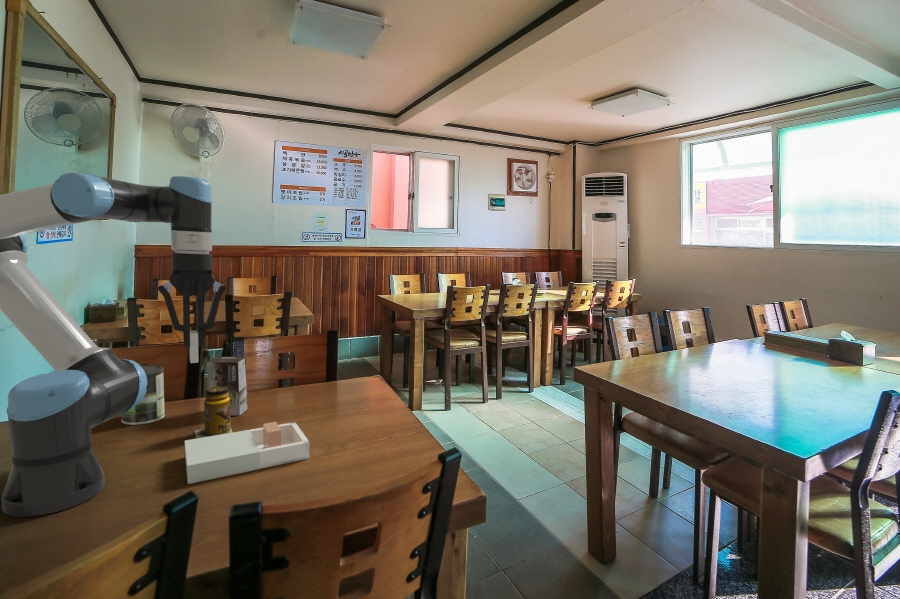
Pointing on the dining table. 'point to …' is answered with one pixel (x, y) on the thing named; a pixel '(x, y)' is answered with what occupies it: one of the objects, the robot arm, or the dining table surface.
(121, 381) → the robot arm
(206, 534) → the dining table surface
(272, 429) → the tile
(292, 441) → the box
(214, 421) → the condiment
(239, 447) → the white flat block
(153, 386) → the coffee can
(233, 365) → the coffee box
